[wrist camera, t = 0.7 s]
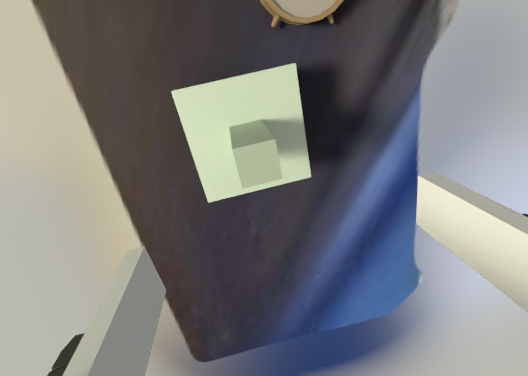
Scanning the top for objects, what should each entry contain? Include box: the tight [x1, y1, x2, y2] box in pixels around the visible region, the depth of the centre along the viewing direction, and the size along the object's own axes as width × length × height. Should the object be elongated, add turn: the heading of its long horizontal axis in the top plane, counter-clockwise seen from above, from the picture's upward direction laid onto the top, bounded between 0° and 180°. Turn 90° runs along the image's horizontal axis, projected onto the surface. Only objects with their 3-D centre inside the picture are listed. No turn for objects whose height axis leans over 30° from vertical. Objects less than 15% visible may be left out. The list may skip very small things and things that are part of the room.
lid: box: [171, 63, 311, 203], centre depth 26 cm, size 13×13×10 cm
